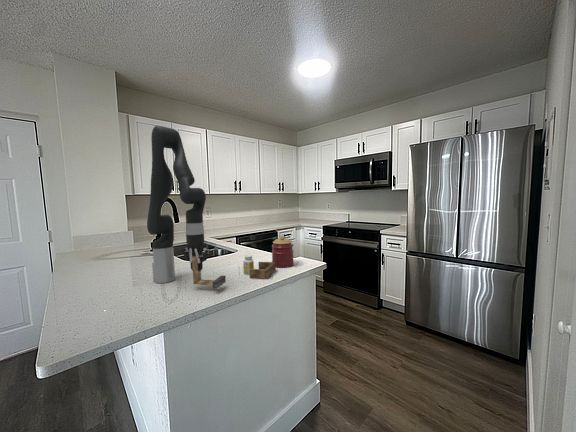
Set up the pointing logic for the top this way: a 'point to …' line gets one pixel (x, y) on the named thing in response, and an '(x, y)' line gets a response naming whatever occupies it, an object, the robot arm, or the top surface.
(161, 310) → the top surface
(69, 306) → the top surface
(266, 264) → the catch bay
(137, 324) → the top surface
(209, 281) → the wooden l-shaped bracket
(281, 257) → the canister
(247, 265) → the supplement bottle
